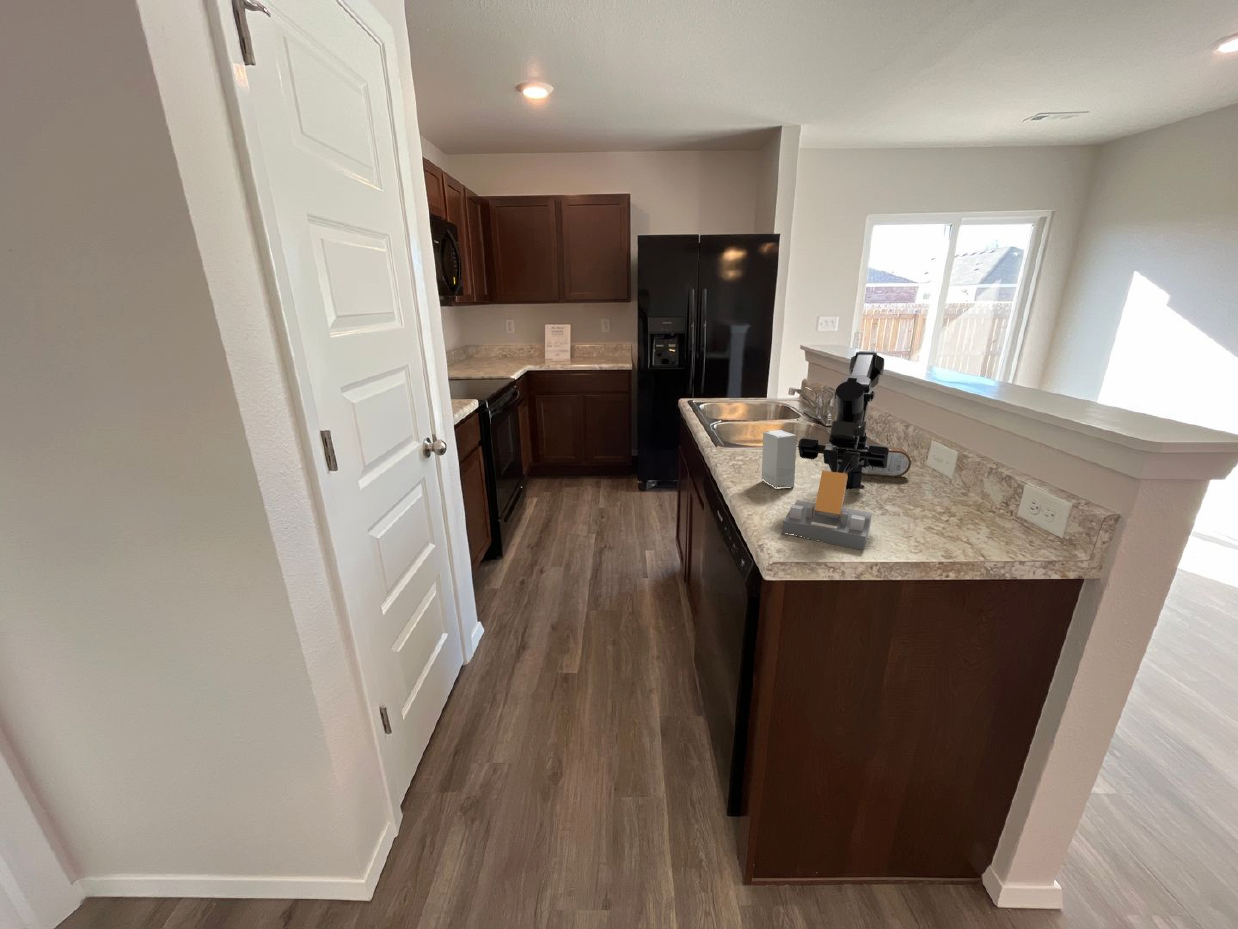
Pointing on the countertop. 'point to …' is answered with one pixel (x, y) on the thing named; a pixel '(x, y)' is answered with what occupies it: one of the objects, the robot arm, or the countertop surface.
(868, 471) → the tin
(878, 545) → the countertop surface
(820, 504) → the lever
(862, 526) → the box
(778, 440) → the skincare box
